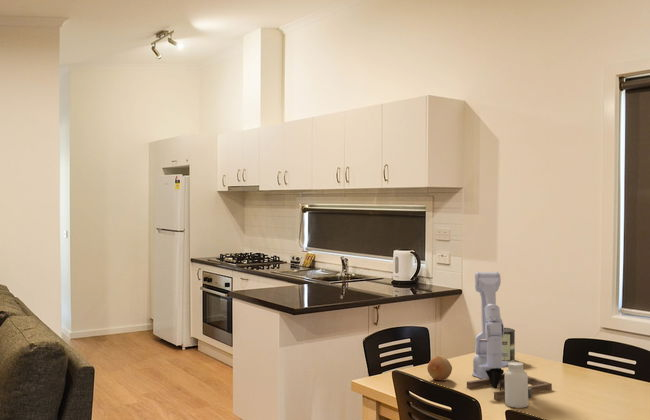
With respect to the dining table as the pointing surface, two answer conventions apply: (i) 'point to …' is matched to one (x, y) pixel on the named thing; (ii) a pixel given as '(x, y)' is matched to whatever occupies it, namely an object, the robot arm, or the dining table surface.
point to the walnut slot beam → (537, 384)
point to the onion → (439, 368)
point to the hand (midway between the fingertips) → (494, 387)
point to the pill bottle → (516, 386)
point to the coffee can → (508, 345)
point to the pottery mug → (502, 384)
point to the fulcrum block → (529, 392)
